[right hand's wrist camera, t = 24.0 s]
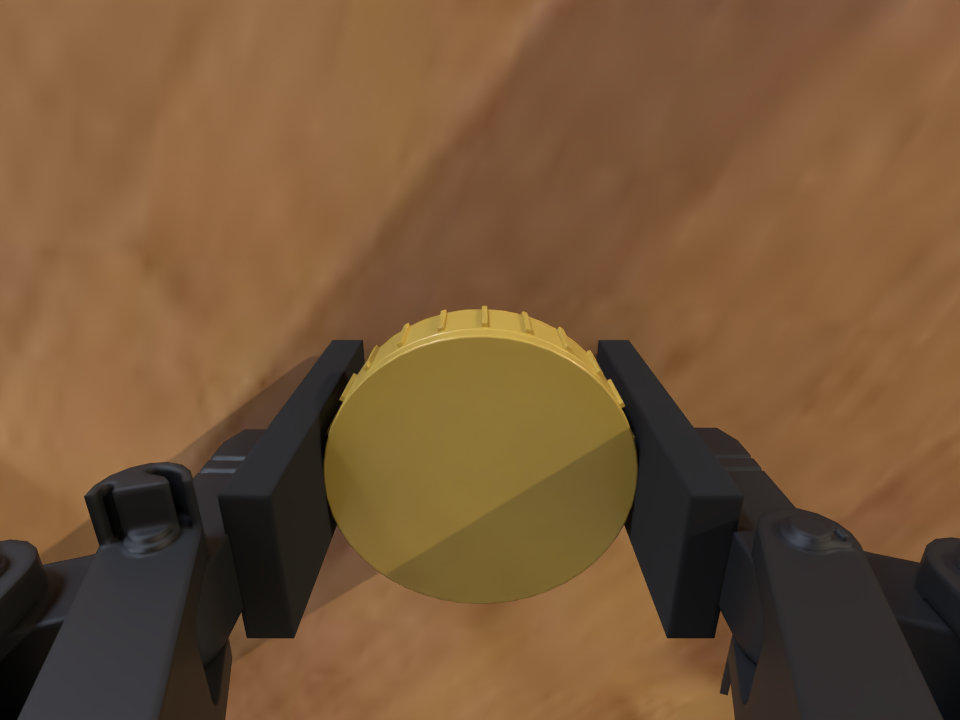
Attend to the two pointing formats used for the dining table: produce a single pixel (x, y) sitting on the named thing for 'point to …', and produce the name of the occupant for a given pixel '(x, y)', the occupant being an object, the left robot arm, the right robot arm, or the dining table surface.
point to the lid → (480, 458)
